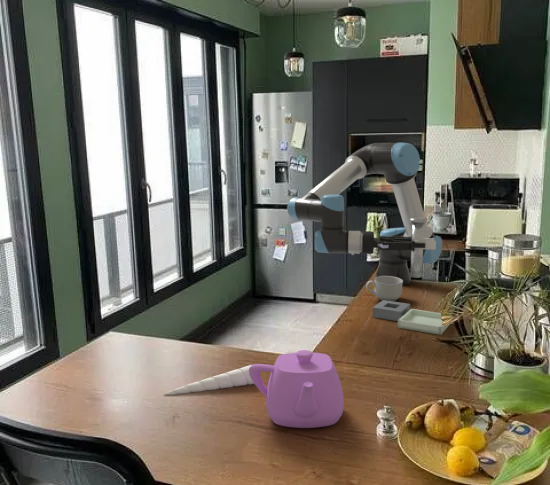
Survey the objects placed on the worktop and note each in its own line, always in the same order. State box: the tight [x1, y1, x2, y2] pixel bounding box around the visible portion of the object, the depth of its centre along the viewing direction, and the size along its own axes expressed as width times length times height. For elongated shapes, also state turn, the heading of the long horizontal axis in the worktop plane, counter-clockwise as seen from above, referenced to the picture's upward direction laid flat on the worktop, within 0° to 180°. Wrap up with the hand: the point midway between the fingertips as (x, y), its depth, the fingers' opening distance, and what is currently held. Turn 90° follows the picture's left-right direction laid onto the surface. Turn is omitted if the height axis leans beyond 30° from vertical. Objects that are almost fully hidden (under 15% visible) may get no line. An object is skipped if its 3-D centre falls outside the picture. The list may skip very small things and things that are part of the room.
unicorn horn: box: [163, 364, 255, 396], centre depth 137 cm, size 5×24×5 cm, turn 104°
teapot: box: [249, 349, 345, 429], centre depth 118 cm, size 23×21×15 cm
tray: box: [397, 308, 452, 336], centre depth 180 cm, size 14×14×2 cm
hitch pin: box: [410, 217, 427, 279], centre depth 177 cm, size 5×5×19 cm
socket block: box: [372, 300, 411, 322], centre depth 190 cm, size 10×10×4 cm
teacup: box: [365, 276, 403, 302], centre depth 208 cm, size 14×11×8 cm
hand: (434, 243), depth 176 cm, fingers closed on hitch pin, 4 cm apart
